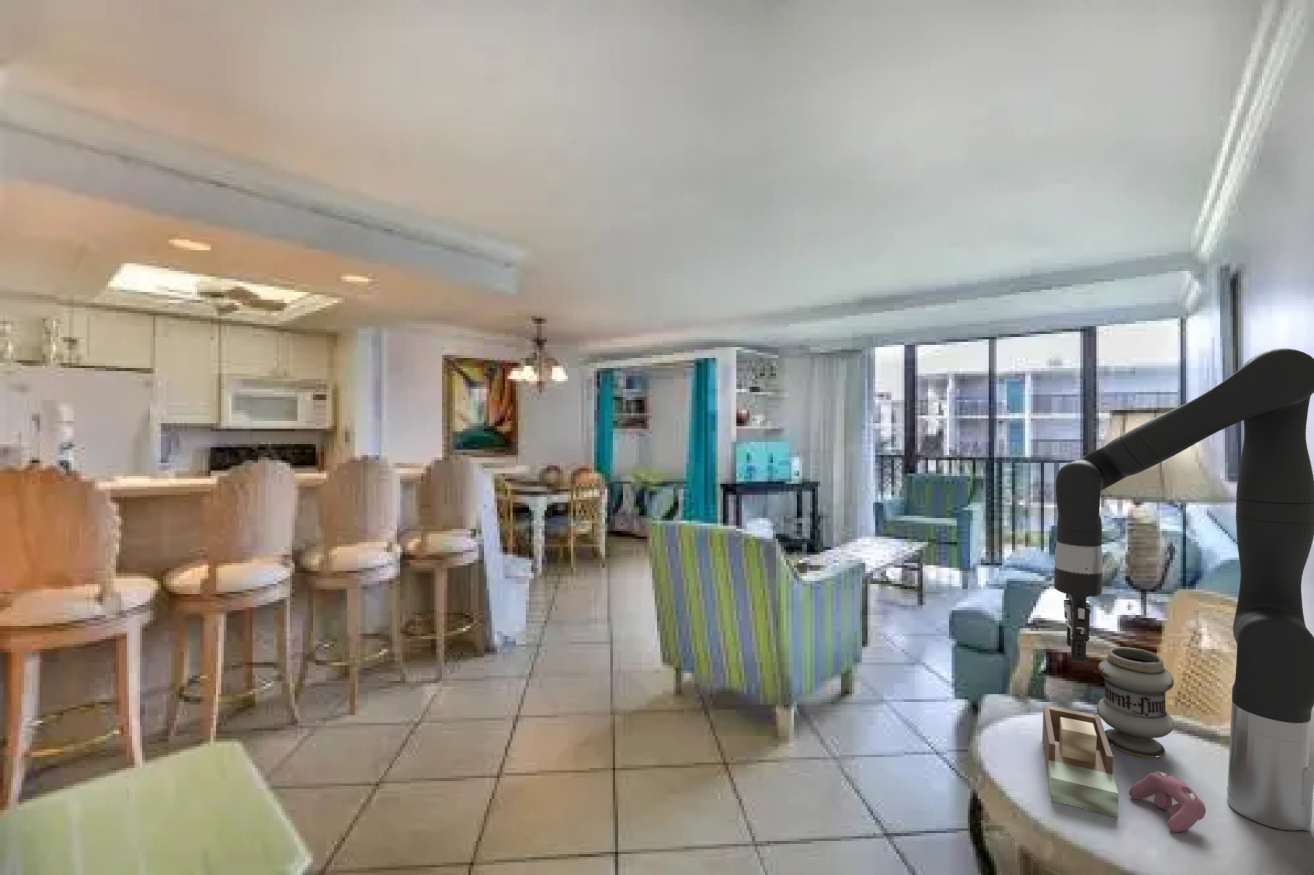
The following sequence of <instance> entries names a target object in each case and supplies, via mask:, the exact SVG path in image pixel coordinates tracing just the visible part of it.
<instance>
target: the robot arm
mask: <svg viewBox="0 0 1314 875" xmlns="http://www.w3.org/2000/svg"><path fill="white" fill-rule="evenodd" d="M1313 394H1314V357H1313V356H1311V355H1310V354H1308V353H1306V352H1304V351H1301V350H1298V349H1294V348H1288V347H1287V348H1286V347H1285V348H1280V347H1279V348H1273V349H1267V350H1265V351H1262V352H1260V353H1257V354H1255V355H1254V356H1252V357H1250V359H1248V360H1247V361H1246V362H1245V363H1244V364H1243V366H1242V367H1241V368H1239V369H1238V370H1237V371H1236V372H1234V373H1233V374H1231V375H1230V376H1229V377H1228V378H1226V379H1224V380H1223V381H1222V382H1220V383H1219V384H1217V385H1216V386H1214V387H1213V388H1211V389H1210V390H1208V391H1206V392H1205V393H1202V394H1200V395H1199V396H1197V397H1196V398H1194V399H1192V400H1190V401H1189V402H1186V403H1184V404H1182V405H1180V406H1178V407H1176V408H1174V409H1171V410H1169V411H1167V412H1165V413H1162V414H1161V415H1158V416H1157V417H1155V418H1151V419H1150V420H1148V421H1146V422H1144V423H1142V424H1139V425H1137V426H1136V427H1135V428H1132V429H1131V430H1128V431H1126V432H1125V433H1123V434H1121V435H1120V436H1117V437H1116V438H1114V439H1112V440H1111V441H1109V442H1108V443H1107V444H1106V445H1104V446H1103V447H1101V448H1097V449H1096V450H1094V451H1092V452H1090V453H1088V454H1086V455H1083V456H1082V457H1080V458H1078V459H1075V460H1074V461H1071V462H1069V463H1067V464H1065V465H1063V466H1062V467H1060V469H1059V471H1058V472H1057V475H1056V478H1055V498H1056V508H1057V515H1058V516H1057V524H1056V525H1057V527H1056V544H1055V549H1054V565H1053V566H1054V568H1053V570H1054V571H1053V572H1054V574H1053V575H1054V576H1053V577H1054V579H1053V588H1054V589H1055V590H1056V591H1058V592H1060V593H1062V594H1065V598H1063V608H1064V610H1063V614H1064V618H1065V625H1066V644H1067V646H1069V647H1070V657H1071V660H1073V661H1077V662H1082V663H1083V662H1085V661H1086V660H1087V643H1088V642H1089V640H1090V627H1091V620H1090V619H1091V617H1090V616H1091V613H1092V607H1091V606H1092V605H1091V604H1090V601H1089V600H1087V598H1090V597H1093V598H1094V597H1098V596H1101V595H1102V593H1103V567H1104V566H1103V565H1104V563H1103V562H1104V556H1103V548H1102V547H1103V546H1102V545H1103V544H1102V542H1103V540H1102V538H1103V523H1102V518H1101V516H1100V510H1101V509H1100V508H1101V506H1100V505H1101V492H1102V491H1104V490H1105V489H1107V488H1109V487H1111V486H1112V485H1115V484H1116V483H1118V482H1120V481H1122V480H1123V479H1125V478H1127V477H1130V476H1134V475H1136V474H1140V473H1142V472H1144V471H1146V470H1148V469H1150V468H1152V467H1155V466H1156V465H1159V464H1160V463H1162V462H1164V461H1166V460H1168V459H1170V458H1172V457H1174V456H1176V455H1178V454H1180V453H1182V452H1184V451H1185V450H1187V449H1189V448H1190V447H1192V446H1194V445H1196V444H1197V443H1199V442H1201V441H1203V440H1205V439H1207V438H1209V437H1211V436H1212V435H1215V434H1216V433H1218V432H1220V431H1222V430H1224V429H1226V428H1229V427H1232V426H1233V425H1236V424H1237V423H1240V422H1243V442H1242V449H1241V455H1240V461H1239V465H1238V474H1237V483H1236V493H1235V495H1236V496H1235V497H1236V498H1235V522H1236V523H1235V526H1236V543H1237V550H1238V551H1237V553H1238V559H1239V568H1240V577H1239V578H1240V579H1239V580H1240V581H1239V589H1238V595H1237V596H1238V597H1237V603H1236V610H1235V614H1234V618H1233V619H1234V620H1233V624H1232V634H1233V635H1232V636H1233V637H1234V640H1235V642H1236V660H1235V661H1236V662H1235V679H1234V682H1233V685H1232V688H1231V689H1232V690H1231V691H1232V692H1231V706H1230V707H1231V709H1230V710H1231V711H1230V731H1229V732H1230V733H1229V734H1230V735H1229V751H1228V752H1229V753H1228V773H1227V787H1226V791H1227V794H1226V796H1227V799H1226V801H1227V803H1228V805H1229V806H1230V807H1231V809H1233V811H1236V813H1238V814H1240V815H1241V816H1243V817H1245V818H1247V819H1249V820H1251V821H1254V822H1255V823H1259V824H1261V825H1264V826H1267V827H1270V828H1275V829H1278V830H1286V831H1301V830H1303V831H1306V832H1312V820H1313V819H1312V818H1313V799H1314V770H1313V769H1311V767H1310V766H1309V763H1310V762H1309V759H1310V758H1309V756H1310V744H1311V743H1310V742H1311V740H1310V739H1311V721H1312V709H1313V708H1314V635H1312V632H1310V630H1309V628H1307V626H1306V621H1305V617H1304V610H1303V609H1304V608H1303V598H1302V596H1303V595H1302V581H1303V575H1304V571H1305V570H1304V569H1305V567H1306V564H1307V561H1308V559H1309V556H1310V553H1311V549H1312V545H1313V542H1314V473H1313V467H1312V462H1311V459H1310V454H1309V449H1308V443H1307V421H1308V413H1309V407H1310V400H1311V396H1312V395H1313ZM1082 632H1083V633H1082Z"/></svg>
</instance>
